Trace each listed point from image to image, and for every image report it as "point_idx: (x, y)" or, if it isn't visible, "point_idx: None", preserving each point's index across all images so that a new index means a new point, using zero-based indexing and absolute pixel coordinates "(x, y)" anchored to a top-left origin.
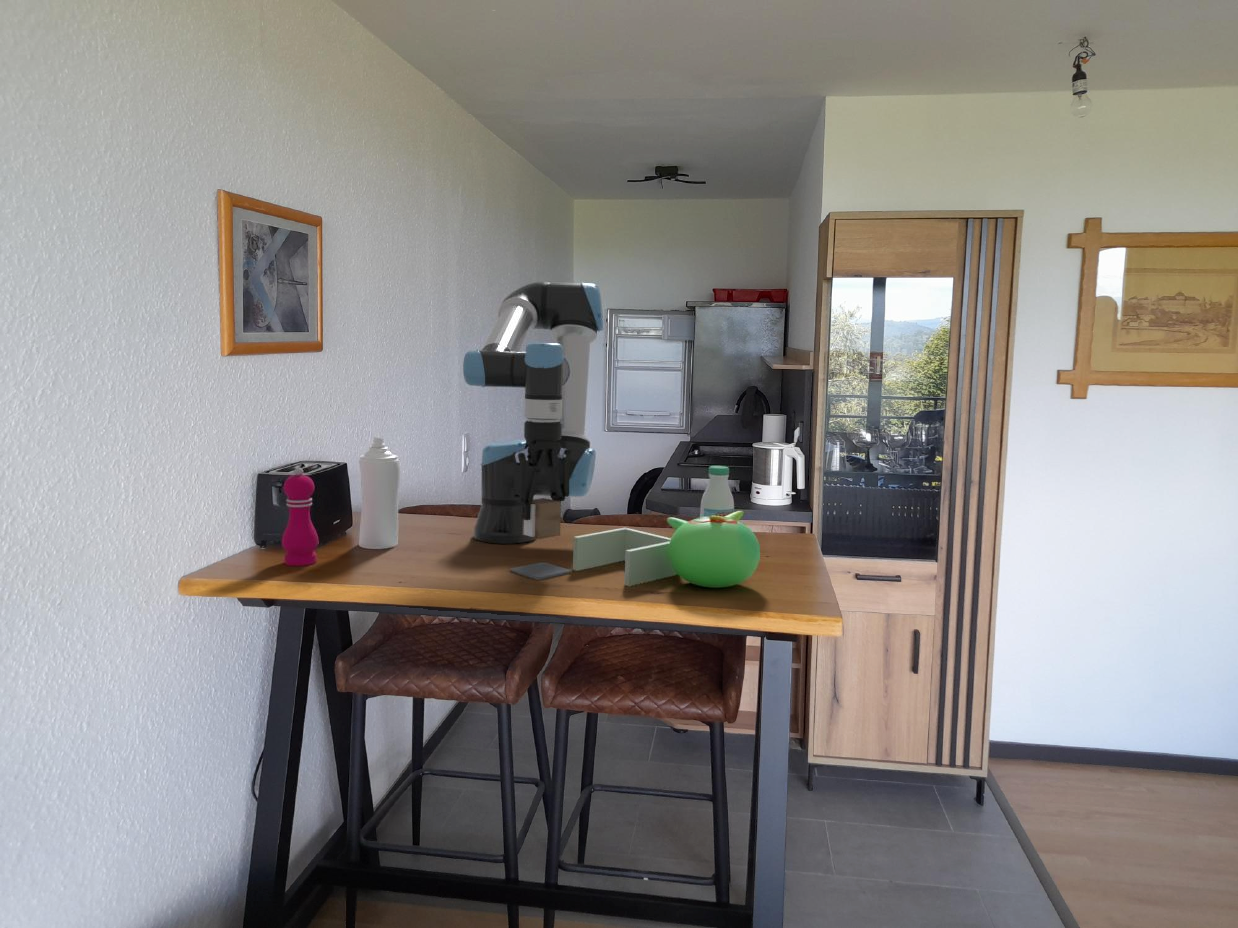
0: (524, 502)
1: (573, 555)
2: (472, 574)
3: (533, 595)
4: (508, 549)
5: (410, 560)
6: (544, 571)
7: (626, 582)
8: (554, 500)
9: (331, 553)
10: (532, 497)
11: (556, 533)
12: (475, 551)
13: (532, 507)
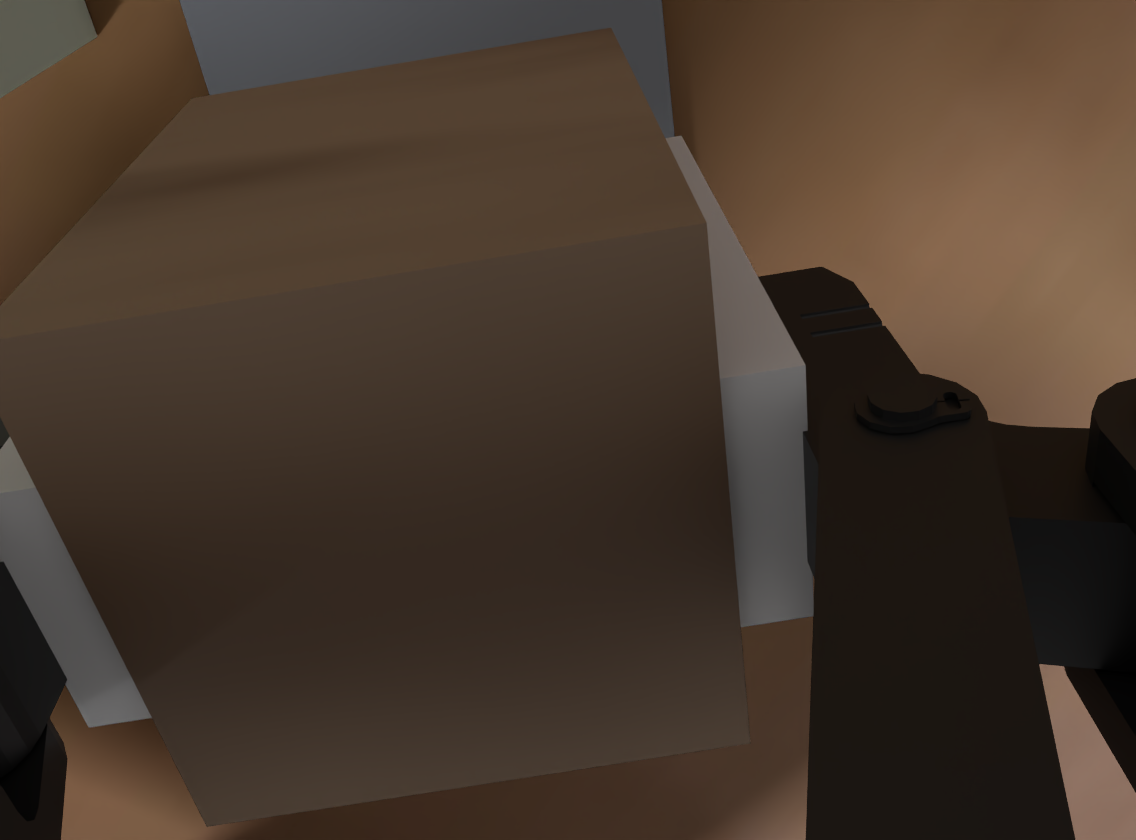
0: (1021, 438)
1: (39, 68)
2: (1001, 337)
3: None
4: (357, 806)
5: (1077, 798)
6: (453, 43)
7: None
8: (75, 543)
9: None
10: (857, 479)
11: (263, 93)
12: (596, 835)
13: (789, 339)
